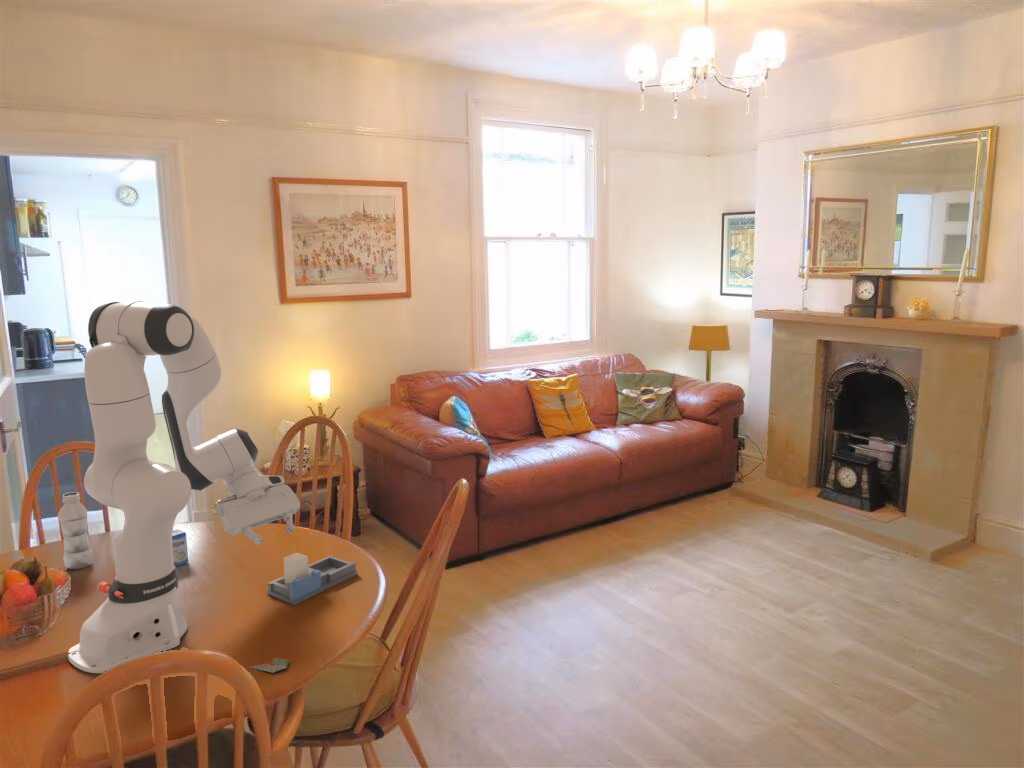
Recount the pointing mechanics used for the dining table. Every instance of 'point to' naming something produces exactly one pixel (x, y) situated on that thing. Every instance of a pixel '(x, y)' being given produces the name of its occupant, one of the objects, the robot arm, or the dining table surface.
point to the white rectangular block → (295, 567)
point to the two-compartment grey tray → (313, 580)
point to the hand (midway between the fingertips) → (275, 536)
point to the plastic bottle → (74, 532)
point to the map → (273, 665)
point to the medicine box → (179, 547)
